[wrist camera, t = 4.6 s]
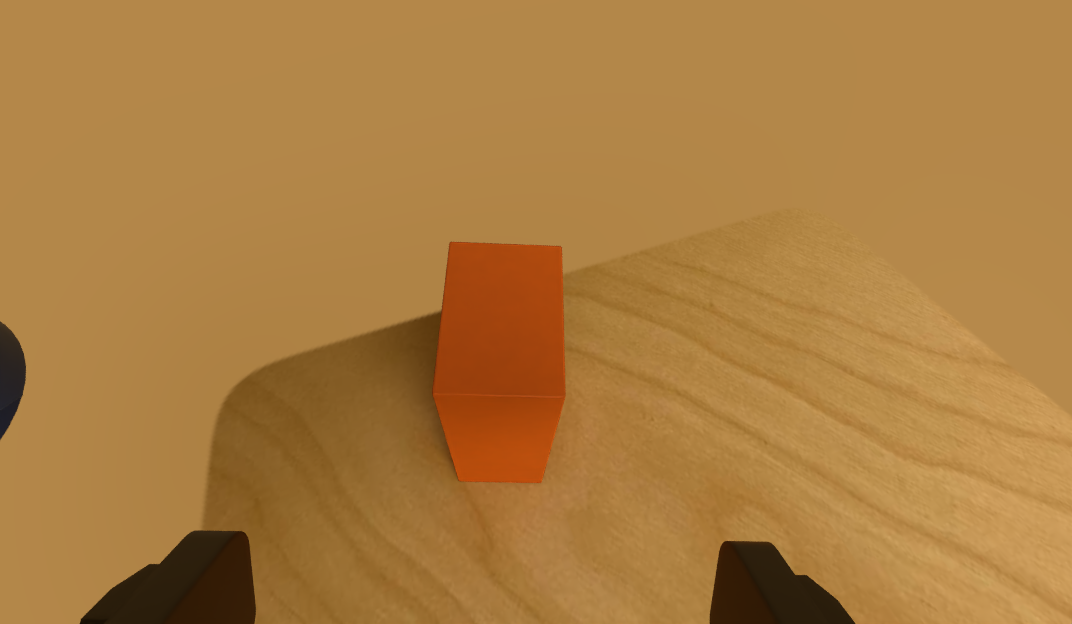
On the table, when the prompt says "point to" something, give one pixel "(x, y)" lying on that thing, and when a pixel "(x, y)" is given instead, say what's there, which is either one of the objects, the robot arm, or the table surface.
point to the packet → (501, 359)
